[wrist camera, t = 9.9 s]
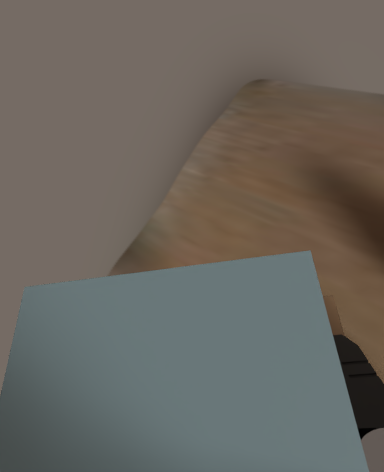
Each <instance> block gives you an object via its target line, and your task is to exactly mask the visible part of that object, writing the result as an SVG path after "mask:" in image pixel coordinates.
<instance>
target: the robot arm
mask: <svg viewBox="0 0 384 472" xmlns="http://www.w3.org/2000/svg"><path fill="white" fill-rule="evenodd" d="M333 338H334V341H335V345H336V349H337V353H338V356H339V360H340V364H341V368H342V372H343V375H344V379H345V383H346V387H347V390H348V394H349V398H350V402H351V406H352V409H353V413H354V417H355V421H356V424H357V428H358V432H359V436H360V439H361V443H362V447H363V451H364V455H365V458H366V462H367V466H368V470H369V472H384V384H383V382H382V381H381V379H380V378H379V376H377V375H376V372H375V370H374V369H373V367H372V366H371V364H370V363H368V360H367V358H366V357H365V355H364V354H363V352H362V351H361V349H360V348H359V346H358V345H356V344H355V343H354V342H352V341H351V340H349V339H348V338H346V337H345V336H343V335H342V334H340V335H333Z"/></svg>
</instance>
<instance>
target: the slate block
mask: <svg viewBox="0 0 384 472" xmlns="http://www.w3.org/2000/svg"><path fill="white" fill-rule="evenodd" d="M0 472H369V470H368V466H367V462H366V458H365V455H364V451H363V447H362V443H361V439H360V436H359V432H358V428H357V424H356V421H355V417H354V413H353V409H352V406H351V402H350V398H349V394H348V390H347V387H346V383H345V379H344V375H343V372H342V368H341V364H340V360H339V356H338V353H337V349H336V345H335V341H334V338H333V334H332V330H331V326H330V323H329V319H328V315H327V311H326V307H325V304H324V300H323V296H322V292H321V289H320V285H319V281H318V277H317V274H316V270H315V266H314V262H313V258H312V255H311V251H303V252H295V253H287V254H279V255H272V256H264V257H256V258H248V259H240V260H232V261H225V262H217V263H209V264H201V265H193V266H185V267H178V268H170V269H162V270H154V271H146V272H138V273H130V274H123V275H115V276H107V277H100V278H91V279H84V280H76V281H68V282H61V283H52V284H44V285H37V286H30V287H25V288H24V293H23V297H22V301H21V306H20V310H19V315H18V319H17V324H16V328H15V333H14V338H13V342H12V346H11V350H10V355H9V359H8V364H7V369H6V373H5V377H4V382H3V387H2V391H1V396H0Z"/></svg>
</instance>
